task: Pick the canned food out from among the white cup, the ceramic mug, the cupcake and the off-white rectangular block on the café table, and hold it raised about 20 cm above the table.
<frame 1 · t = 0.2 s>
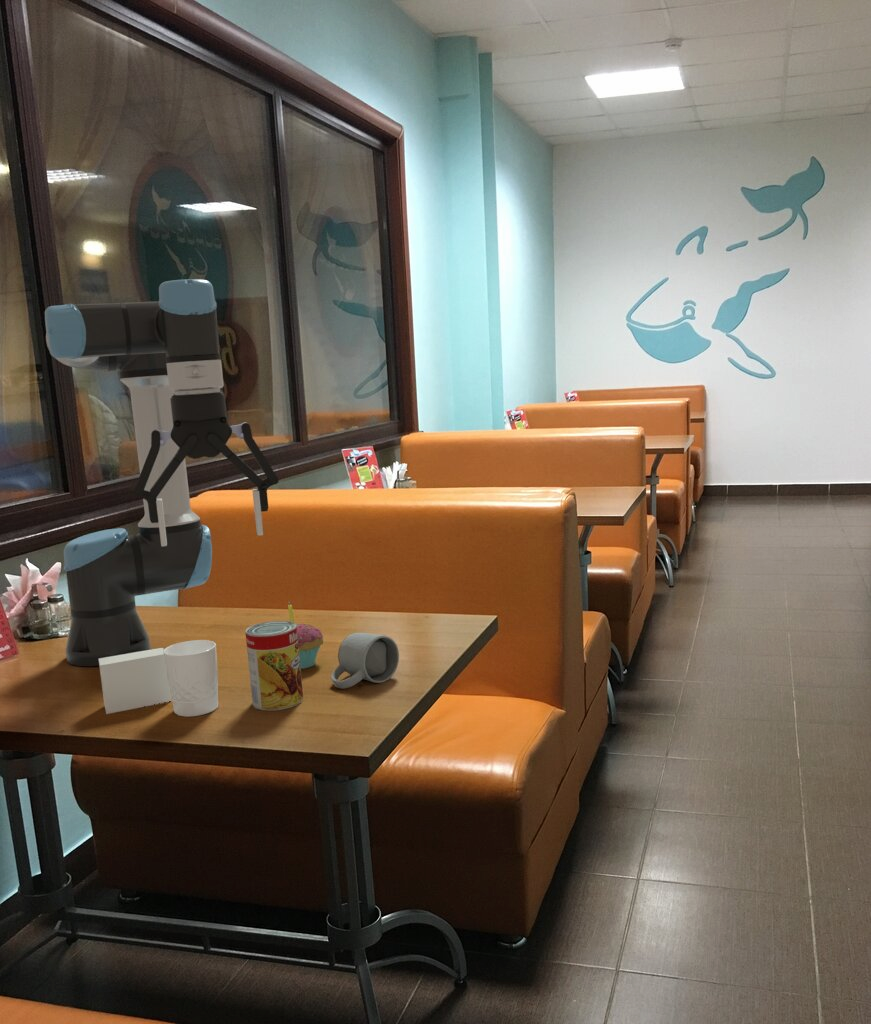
hand: (212, 539, 137), 28 cm above the table, fingers open, 13 cm apart
white cup: (196, 710, 148), on the table
ceramic mug: (363, 681, 156), on the table
canned food: (278, 702, 149), on the table
cupcake: (300, 665, 166), on the table
off-white rectangular block: (138, 704, 152), on the table
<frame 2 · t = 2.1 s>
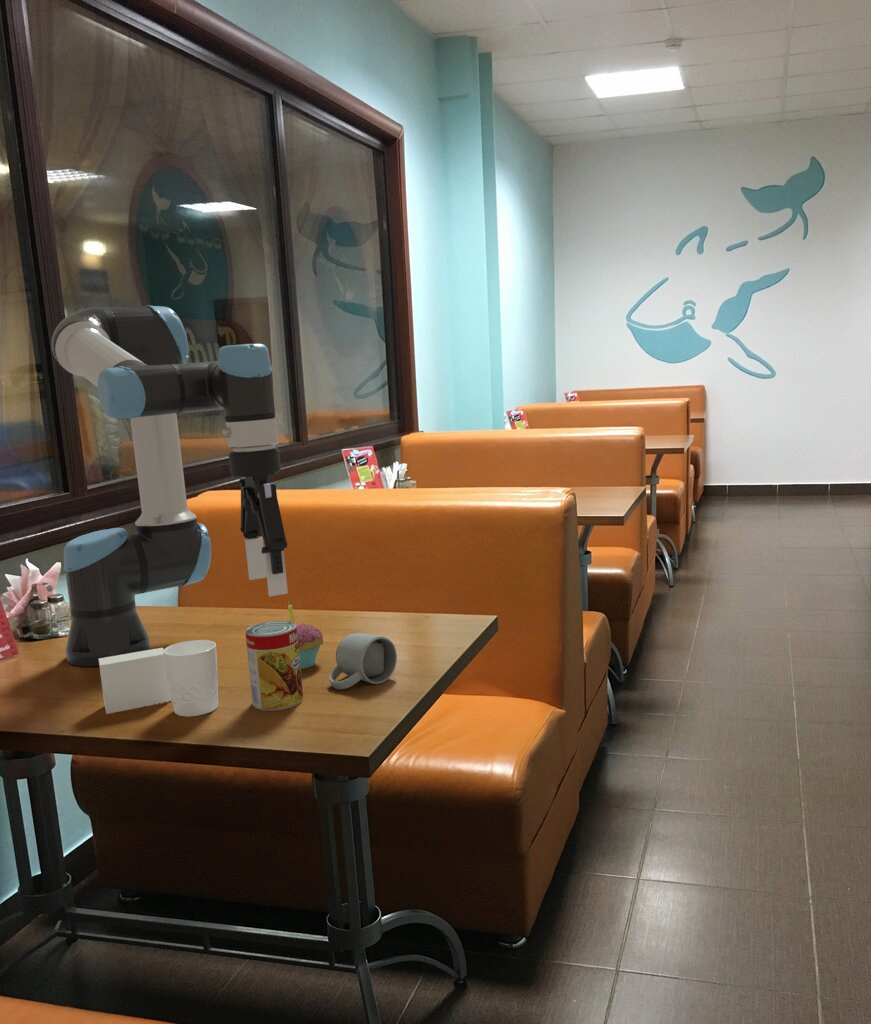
hand: (267, 586, 146), 19 cm above the table, fingers open, 13 cm apart
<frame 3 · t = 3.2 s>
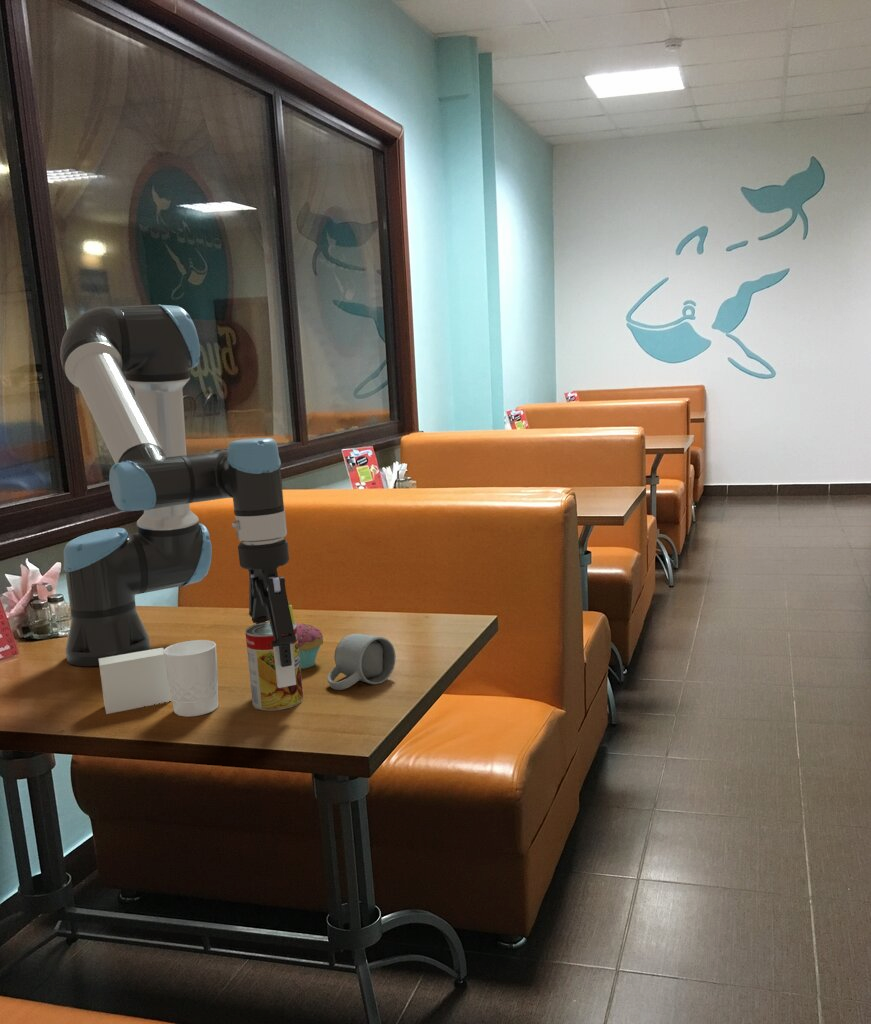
hand: (276, 673, 148), 5 cm above the table, fingers open, 13 cm apart
nothing on the table moved.
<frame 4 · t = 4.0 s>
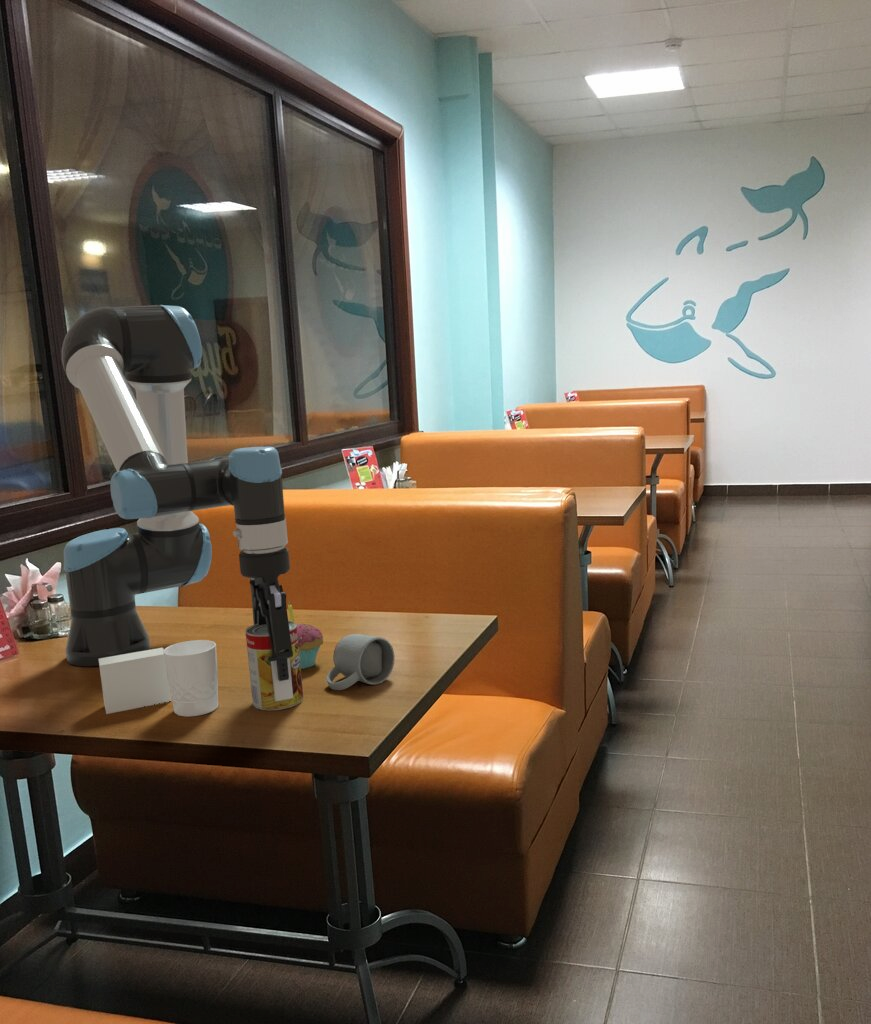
hand: (277, 690, 148), 2 cm above the table, fingers closed on canned food, 8 cm apart
canned food: (278, 702, 149), on the table, touching gripper
everything else where it was.
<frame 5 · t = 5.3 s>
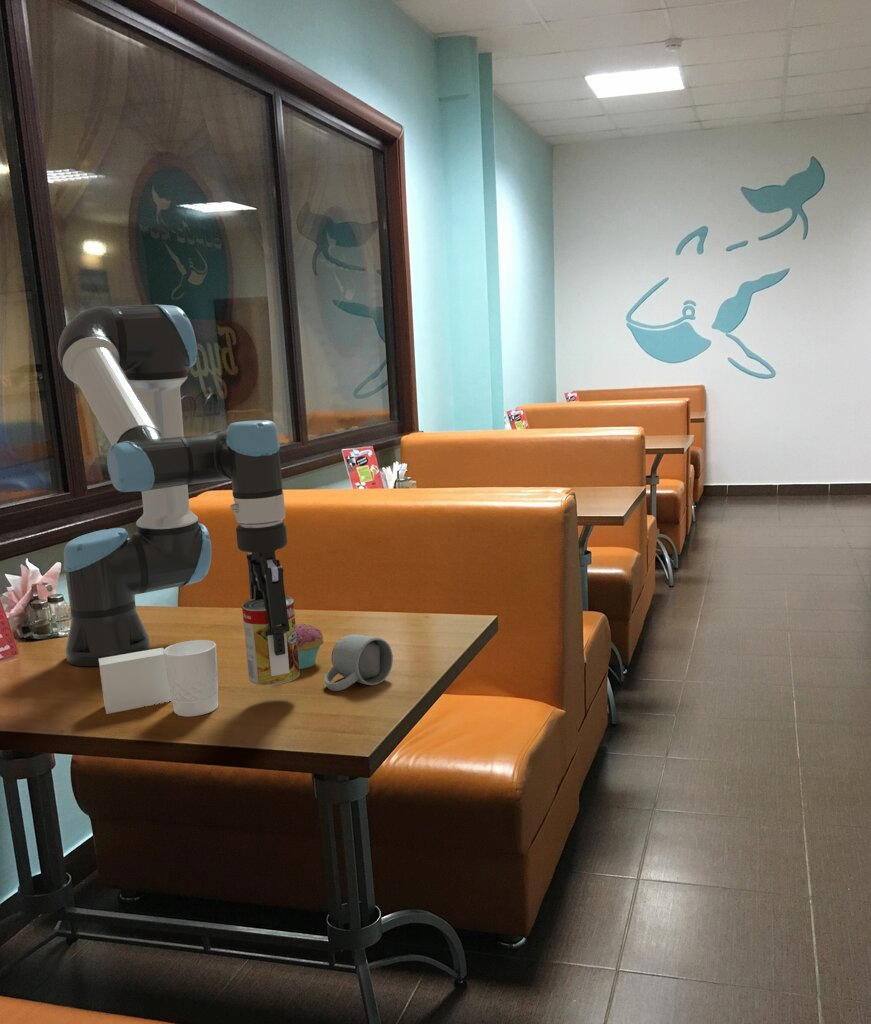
hand: (273, 665, 148), 6 cm above the table, fingers closed on canned food, 8 cm apart
canned food: (274, 677, 149), point 4 cm above the table, touching gripper
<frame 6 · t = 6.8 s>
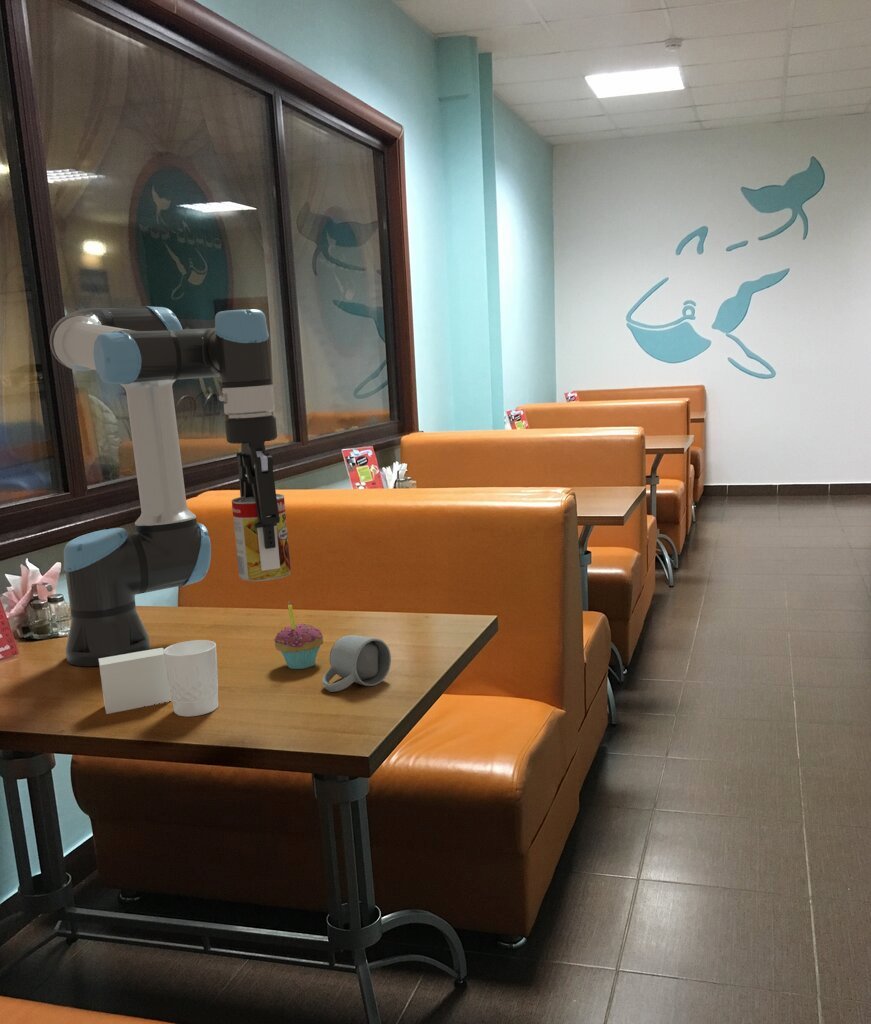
hand: (264, 563, 145), 22 cm above the table, fingers closed on canned food, 8 cm apart
canned food: (265, 576, 146), point 20 cm above the table, touching gripper
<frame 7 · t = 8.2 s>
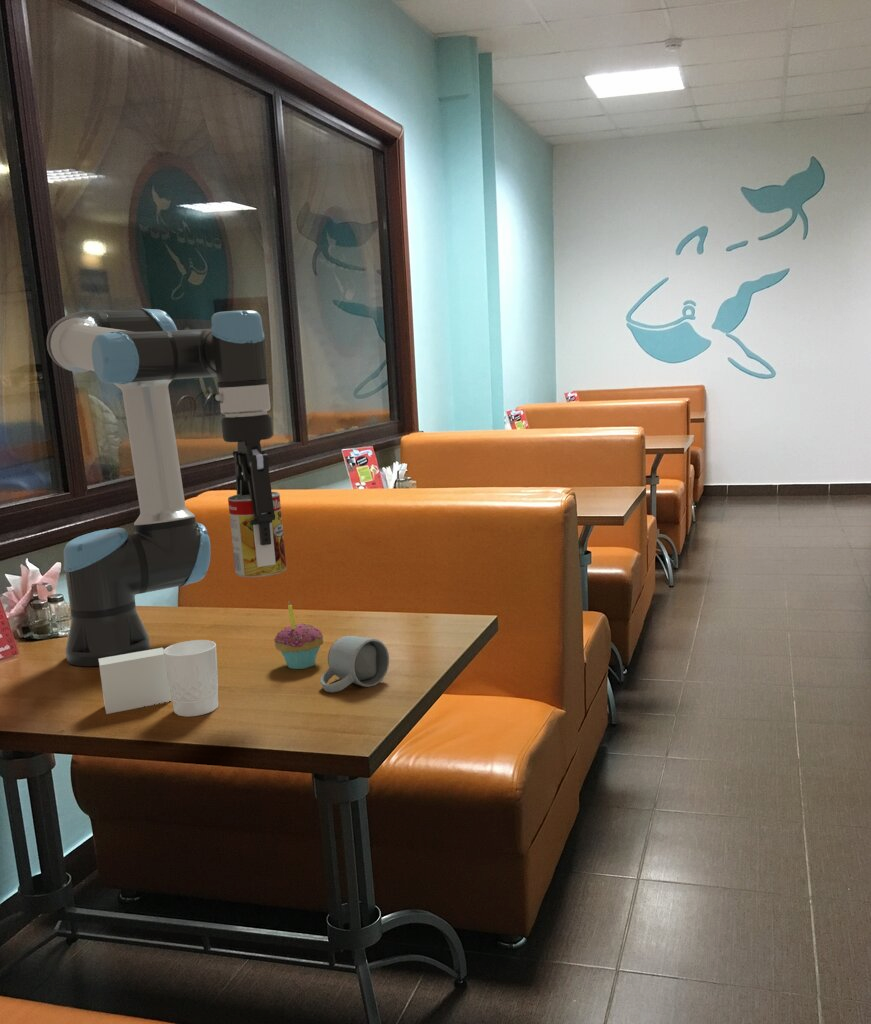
hand: (260, 560, 148), 22 cm above the table, fingers closed on canned food, 8 cm apart
canned food: (261, 572, 148), point 20 cm above the table, touching gripper
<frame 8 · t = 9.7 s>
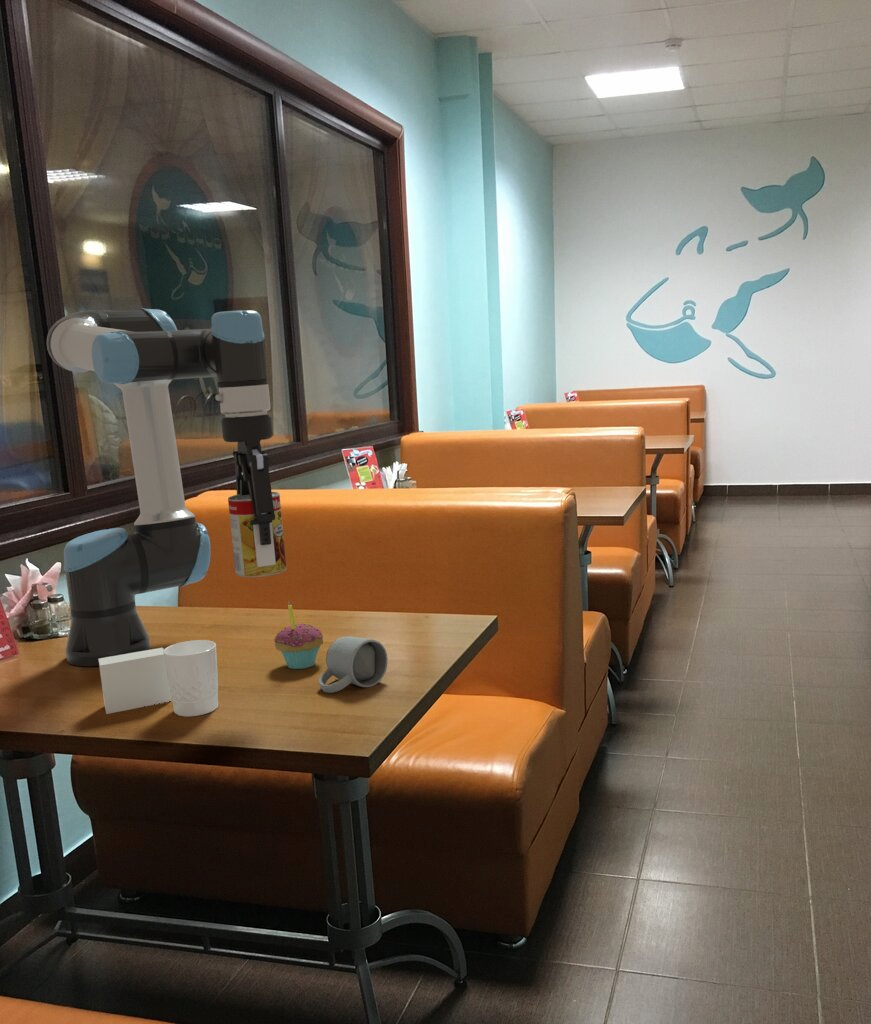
hand: (260, 560, 148), 22 cm above the table, fingers closed on canned food, 8 cm apart
canned food: (261, 572, 148), point 20 cm above the table, touching gripper
at the end: the gripper is holding canned food; canned food point 20.2 cm above the table; white cup moved 0.2 cm from its start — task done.
